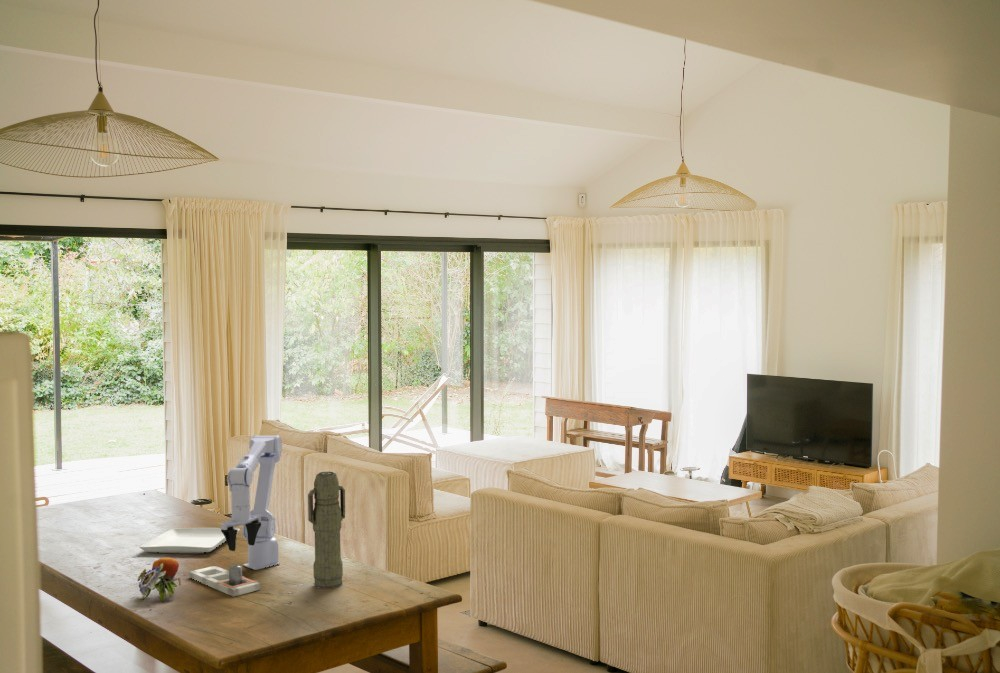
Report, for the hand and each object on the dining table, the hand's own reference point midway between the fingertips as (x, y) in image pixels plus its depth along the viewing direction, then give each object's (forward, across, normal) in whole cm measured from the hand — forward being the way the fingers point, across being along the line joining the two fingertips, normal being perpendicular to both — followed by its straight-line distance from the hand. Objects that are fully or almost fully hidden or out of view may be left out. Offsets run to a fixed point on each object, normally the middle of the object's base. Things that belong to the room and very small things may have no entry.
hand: (241, 547), depth 293 cm
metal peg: (+10, +7, +5) cm, 14 cm away
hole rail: (+10, +6, -2) cm, 12 cm away
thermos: (+11, -12, +26) cm, 31 cm away
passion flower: (+11, +25, -8) cm, 28 cm away
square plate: (+11, -18, -50) cm, 54 cm away
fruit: (+11, +12, -22) cm, 28 cm away
